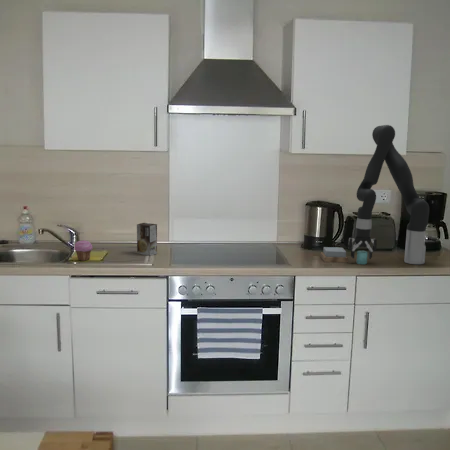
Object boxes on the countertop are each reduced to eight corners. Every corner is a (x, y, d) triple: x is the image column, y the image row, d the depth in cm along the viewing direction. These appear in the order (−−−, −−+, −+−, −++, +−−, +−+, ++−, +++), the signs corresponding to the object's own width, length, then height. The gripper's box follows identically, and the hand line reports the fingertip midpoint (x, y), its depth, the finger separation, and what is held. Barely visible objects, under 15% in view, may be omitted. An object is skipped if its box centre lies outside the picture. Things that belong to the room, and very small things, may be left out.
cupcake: (84, 262, 268) (83, 242, 266) (70, 260, 272) (70, 240, 270) (96, 259, 276) (95, 239, 274) (83, 257, 280) (82, 238, 278)
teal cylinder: (365, 262, 282) (366, 250, 281) (368, 264, 277) (368, 253, 276) (355, 261, 282) (356, 250, 281) (357, 264, 277) (358, 252, 276)
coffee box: (157, 253, 290) (157, 224, 288) (150, 255, 285) (149, 225, 282) (144, 251, 295) (144, 222, 292) (136, 253, 290) (136, 223, 287)
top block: (341, 253, 290) (342, 247, 290) (345, 257, 281) (346, 251, 280) (323, 252, 291) (323, 247, 290) (326, 256, 281) (326, 251, 280)
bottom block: (342, 258, 292) (342, 252, 292) (347, 263, 280) (347, 257, 280) (320, 257, 292) (320, 252, 291) (324, 263, 280) (324, 257, 280)
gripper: (375, 226, 280) (372, 257, 283) (348, 225, 280) (345, 256, 283) (379, 229, 273) (377, 260, 276) (351, 228, 272) (349, 259, 275)
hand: (361, 258), depth 279 cm, fingers open, 8 cm apart
